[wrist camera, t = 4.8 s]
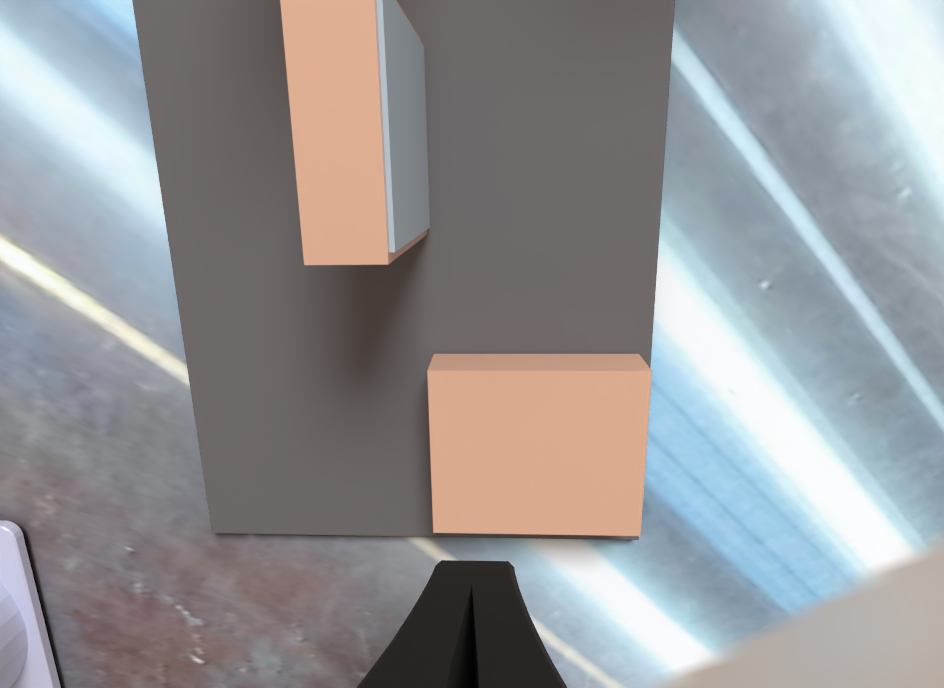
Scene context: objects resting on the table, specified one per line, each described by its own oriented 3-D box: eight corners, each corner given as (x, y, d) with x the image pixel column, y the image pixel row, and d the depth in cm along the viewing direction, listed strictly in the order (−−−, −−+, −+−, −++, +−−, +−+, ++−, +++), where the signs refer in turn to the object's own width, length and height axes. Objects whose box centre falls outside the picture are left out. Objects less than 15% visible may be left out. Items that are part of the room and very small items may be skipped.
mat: (217, 526, 20) (212, 533, 20) (140, -1, 16) (131, -6, 16) (636, 532, 20) (638, 539, 19) (672, -18, 15) (676, -23, 15)
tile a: (433, 532, 18) (640, 535, 17) (427, 370, 16) (651, 371, 16) (439, 502, 19) (628, 504, 19) (434, 353, 18) (637, 352, 18)
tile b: (371, 234, 17) (304, 265, 11) (359, 41, 16) (276, -36, 10) (431, 233, 17) (393, 264, 11) (424, 39, 16) (378, -40, 10)
